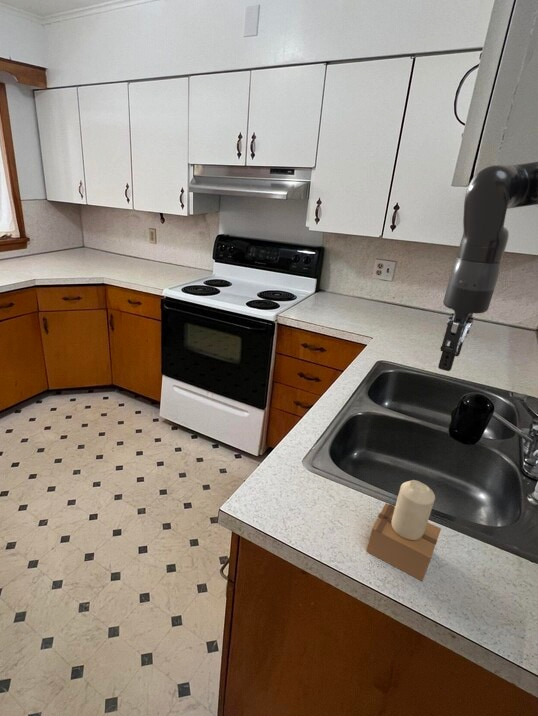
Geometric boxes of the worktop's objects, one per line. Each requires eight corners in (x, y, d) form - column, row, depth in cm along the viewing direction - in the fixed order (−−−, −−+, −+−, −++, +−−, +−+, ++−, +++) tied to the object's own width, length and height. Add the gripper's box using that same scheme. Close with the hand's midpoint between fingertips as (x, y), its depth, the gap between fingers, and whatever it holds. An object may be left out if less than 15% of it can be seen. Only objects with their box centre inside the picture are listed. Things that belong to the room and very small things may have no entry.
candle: (429, 529, 77) (443, 487, 73) (414, 545, 74) (427, 502, 69) (400, 511, 81) (412, 470, 76) (385, 526, 77) (396, 483, 73)
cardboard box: (433, 551, 80) (441, 527, 77) (422, 582, 74) (431, 557, 72) (379, 524, 86) (385, 502, 83) (365, 551, 80) (371, 527, 77)
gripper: (489, 296, 71) (463, 381, 78) (499, 279, 81) (475, 355, 88) (440, 287, 75) (419, 369, 82) (456, 272, 85) (436, 345, 92)
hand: (448, 361), depth 85 cm, fingers open, 8 cm apart
